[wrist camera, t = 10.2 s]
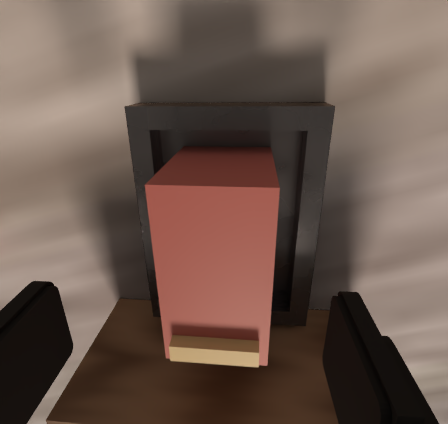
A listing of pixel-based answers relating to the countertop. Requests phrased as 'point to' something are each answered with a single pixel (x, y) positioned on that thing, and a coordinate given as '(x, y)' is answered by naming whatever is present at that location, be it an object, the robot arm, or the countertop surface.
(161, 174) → the red block
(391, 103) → the countertop surface
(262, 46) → the countertop surface
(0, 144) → the countertop surface
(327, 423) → the door board
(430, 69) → the countertop surface
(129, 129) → the tray
